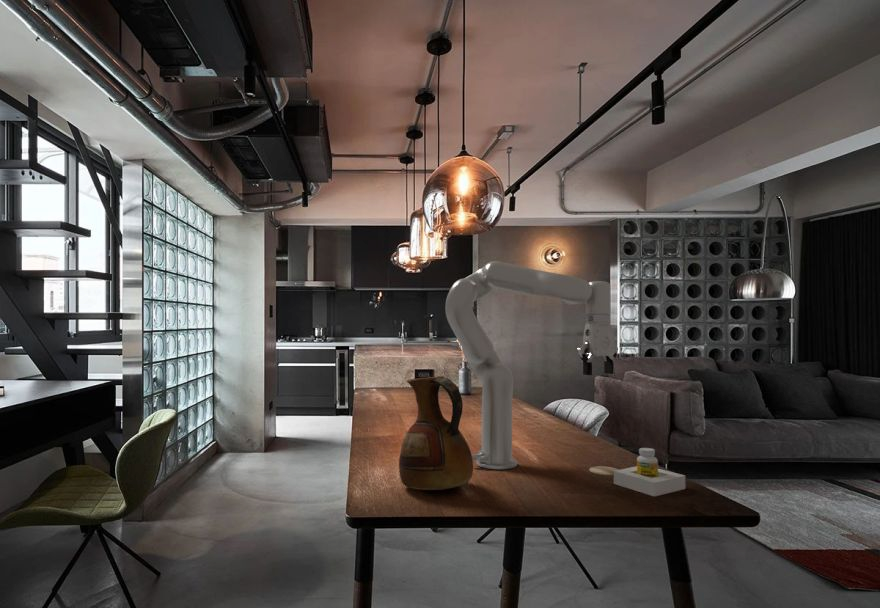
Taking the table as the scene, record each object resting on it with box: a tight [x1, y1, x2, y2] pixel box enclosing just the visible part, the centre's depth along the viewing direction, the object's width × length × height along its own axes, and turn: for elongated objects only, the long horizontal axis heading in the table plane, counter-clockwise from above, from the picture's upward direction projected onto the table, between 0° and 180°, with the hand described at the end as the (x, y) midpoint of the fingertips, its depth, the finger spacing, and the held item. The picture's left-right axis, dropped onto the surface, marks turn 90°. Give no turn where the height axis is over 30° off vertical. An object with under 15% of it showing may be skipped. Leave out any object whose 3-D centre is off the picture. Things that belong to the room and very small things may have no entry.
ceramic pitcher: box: [398, 375, 474, 491], centre depth 144 cm, size 20×20×30 cm
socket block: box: [613, 465, 686, 497], centre depth 147 cm, size 13×13×4 cm
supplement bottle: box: [636, 447, 659, 478], centre depth 147 cm, size 5×5×10 cm
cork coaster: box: [589, 465, 620, 476], centre depth 162 cm, size 9×9×1 cm
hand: (598, 374), depth 171 cm, fingers open, 9 cm apart
